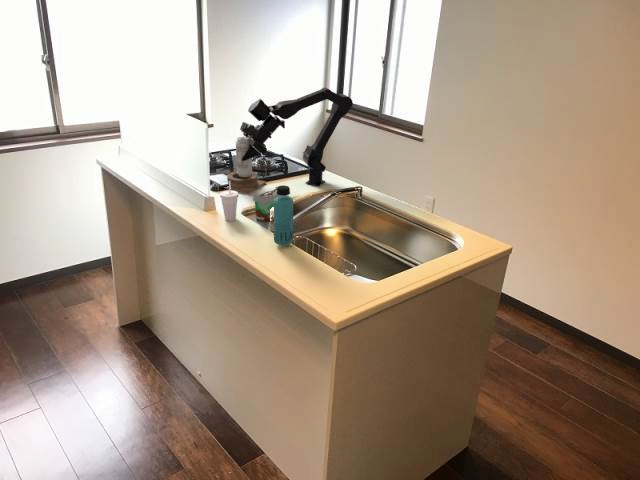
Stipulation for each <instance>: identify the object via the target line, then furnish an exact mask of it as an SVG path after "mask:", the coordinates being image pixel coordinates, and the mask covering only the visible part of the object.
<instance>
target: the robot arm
mask: <svg viewBox="0 0 640 480" xmlns="http://www.w3.org/2000/svg"><path fill="white" fill-rule="evenodd" d="M326 100H327V101H330V102H332V104H331V109H330V114H329V115H328V118H327V119H326V121H325V123H324V125H323V127H322V129H321V130H320V132H319V134H318V135H317V137H316V140H315V141H314V142H313V144H312V145H311V146H310V145H309V144H308V145H306V148H305V150H304V151H303V152H302V154H303V155H302V159H303V162H304V163H305V164H306V165H307V167H308V168H309V169H308V180H307V181H305V184H306V185H312V186H316V187H321V186H322V185H323V184H325V183H326V180H324V179H323V173H324V172H325V171H326V168H327V166H325V165H324V163H322V160H323V157H324V156H323V155H324V149H326V146H327V144H328V142H329V141H330V139H331V137H332V136H333V133H334V132H335V130H336V128H337V127H338V124H339V122H340V120H341V119H343V118H344V117H345V116H346V115H347V114H348V113H349V112H350V110H351V109H352V107H353V105H354V103H353V99H352V98H351V97H350V96H348V95H346V94H344V93H339V94H338V93H336V92H334V91H332V90H331V89H329V88H328V87H322V88H321V89H318V90H316V91H313V92H311V93H308V94H305V95H303V96H301V97H297V98H296V99H289V100H287V99H286V100H282V101H279V102H277V103H276V104H274V105H270V106H268V105H267V104H266V103H265V101H264V100H262V99H261V98H258V100H256V101H254V102H253V103H251V105H249V108H248V110H247V111H248V113H249V114H251V116H253V117H254V119H256V120H257V122H260V121H262V123H260V124H257V125H256V126H255V125H254V124H251V123H247V122H244V121H242V123H241V126H240V127H239V130H240V132H242V135H243V136H242V137H248V138H250V139H249V140H250V141H251V144H250V143H249V148H248V150H247V151H246V153H245V154H244V156H243V157H242V159H241V160H242V161H245V160H248V159H250V158H252V159H253V158H255V157H257V156H258V157H259V156H261V155H262V156H266V154H267V152H268V150H267V149H268V148H267V147H266V146H265V145H266V144H265V143H266V142H267V140H268V139H271V138H272V135H273V134H274V133H275V131H277V130H278V128H279V127H281V128H282V129H285V128H286V124H285V123H286V122H285V121H286V120H288V119H291V118H292V117H293V116H295V115H296V114H297V113H298V112H300V111H301V110H303V109H304V110H305V109H306V108H308V107H311V106H313V105H316V104H319V103H321V102H323V101H326ZM273 115H274V116H273ZM281 119H282V120H281Z"/></svg>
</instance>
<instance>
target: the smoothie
mask: <svg viewBox="0 0 640 480" xmlns="http://www.w3.org/2000/svg"><path fill="white" fill-rule="evenodd" d="M219 197H220V199H221V205H222V209H223V215H224V220H225V221H228V222H230V221H231V222H232V221H235V220H237V219H236V218H237V206H238V197H239V192H236V191H233V190H231V185H230V181H229V190H224V191H223V190H222V191H221V192H220V193H219Z"/></svg>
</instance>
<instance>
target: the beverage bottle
mask: <svg viewBox="0 0 640 480" xmlns="http://www.w3.org/2000/svg"><path fill="white" fill-rule="evenodd" d="M276 187H277V194H278V195H280V196H277V197H276V198H275V199H274V201H273V202H274V221H273V242H274V243H275V244H276V245H278V246H289V245H291V244H293V241H294V238H295V237H294V235H295V234H294V199H293V198H292V197H291V196H289V195H291V189H290V187H289V185H278V186H276Z"/></svg>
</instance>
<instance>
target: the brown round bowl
mask: <svg viewBox="0 0 640 480" xmlns="http://www.w3.org/2000/svg"><path fill="white" fill-rule="evenodd" d="M226 176H227V179H226V180H227V181H228V184H229V181H230V185H231V190H233V191H236V192H238V193H239V194H240V193H241V194H244V195H245V194H246V195H251V193H253V192H254V191H256V190H258V189H259V188H261V187H263V186H265V185H266V184H267V181H264V180H261V179H260V180H259V179H258V173H256V172H254V171H252V174H251V176H249V177H240V176H239V174H237V170H236V171H232V172H230V173H228V174H227V175H226ZM227 181H226V182H227ZM224 188H225V189H226V190H225V189H224V190H225V191H227V190H229V186H227V187H224Z"/></svg>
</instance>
